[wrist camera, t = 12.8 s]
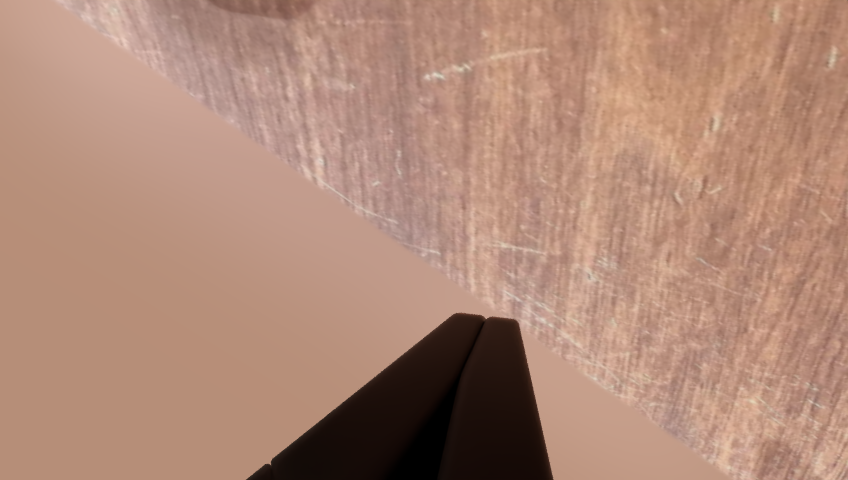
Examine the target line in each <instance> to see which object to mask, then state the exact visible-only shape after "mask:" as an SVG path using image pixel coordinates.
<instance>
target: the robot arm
mask: <svg viewBox="0 0 848 480" xmlns="http://www.w3.org/2000/svg"><path fill="white" fill-rule="evenodd" d="M246 480H553V476H552V472H551V467H550V462H549V458H548V453H547V449H546V444H545V440H544V435H543V431H542V426H541V422H540V418H539V413H538V408H537V404H536V399H535V395H534V391H533V386H532V381H531V377H530V372H529V368H528V363H527V359H526V354H525V349H524V345H523V340H522V337H521V331H520V327H519V323H518V322H517V321H516V320H515V319H508V318H500V317H489V318H487V319H485V318H484V317H483V316H482V315H475V314H474V315H473V314H466V313H456V314H453V315H452V316H451V317H449V318H448V319H447V320H446V321H444V322H443V323H442V324H441V325H439V326H438V327H437V328H436V329H434V330H433V331H432V332H431V333H430V334H428V335H427V336H426V337H424V338H423V339H422V340H421V341H419V342H418V343H417V344H416V345H414V346H413V347H412V348H411V349H409V350H408V351H407V352H406V353H404V354H403V355H402V356H401V357H399V358H398V359H397V360H396V361H394V362H393V363H392V364H391V365H389V366H388V367H387V368H386V369H384V370H383V371H382V372H381V373H379V374H378V375H377V376H376V377H374V378H373V379H372V380H371V381H369V382H368V383H367V384H366V385H364V386H363V387H362V388H361V389H359V390H358V391H357V392H356V393H354V394H353V395H352V396H351V397H349V398H348V399H347V400H346V401H344V402H343V403H342V404H341V405H340V406H338V407H337V408H336V409H334V410H333V411H332V412H331V413H329V414H328V415H327V416H326V417H324V418H323V419H322V420H321V421H319V422H318V423H317V424H316V425H314V426H313V427H312V428H311V429H309V430H308V431H307V432H306V433H304V434H303V435H302V436H301V437H299V438H298V439H297V440H296V441H294V442H293V443H292V444H291V445H289V446H288V447H287V448H286V449H284V450H283V451H282V452H281V453H279V454H278V455H277V456H275V457H274V458H273V459H272V461H271V465H270V464H265V465H264V466H263V467H262V468H260V469H259V470H258V471H256V472H255V473H254V474H253V475H251V476H250V477H249V478H248V479H246Z"/></svg>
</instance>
